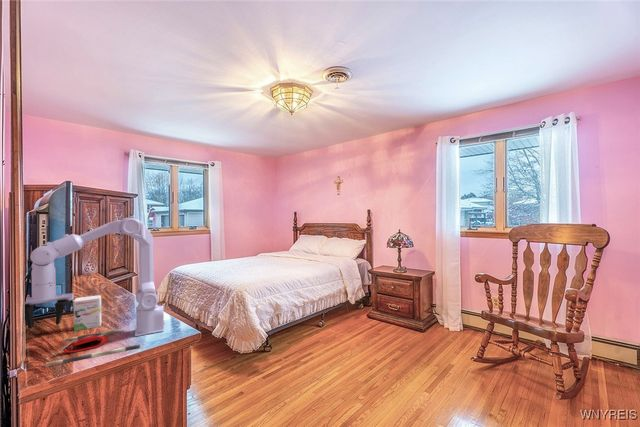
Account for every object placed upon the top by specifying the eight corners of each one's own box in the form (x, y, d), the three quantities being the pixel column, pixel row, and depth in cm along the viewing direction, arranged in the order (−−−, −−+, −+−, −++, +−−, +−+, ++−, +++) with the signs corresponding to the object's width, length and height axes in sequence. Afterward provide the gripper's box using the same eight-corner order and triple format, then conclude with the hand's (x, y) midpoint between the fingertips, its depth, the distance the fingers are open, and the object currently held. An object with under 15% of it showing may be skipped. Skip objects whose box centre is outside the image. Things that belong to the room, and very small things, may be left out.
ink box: (73, 331, 116) (72, 300, 116) (75, 327, 120) (75, 298, 120) (100, 326, 120) (100, 297, 120) (101, 322, 125) (101, 294, 125)
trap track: (141, 327, 119) (141, 325, 119) (139, 347, 100) (139, 345, 100) (63, 340, 107) (63, 338, 107) (45, 366, 89) (45, 364, 89)
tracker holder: (84, 337, 107) (112, 329, 108) (85, 350, 106) (113, 342, 107) (55, 344, 96) (87, 335, 96) (56, 358, 95) (89, 349, 95)
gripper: (75, 278, 104) (76, 317, 104) (18, 283, 97) (19, 325, 97) (70, 282, 97) (71, 323, 97) (9, 288, 90) (9, 333, 90)
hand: (44, 325), depth 97 cm, fingers open, 6 cm apart
